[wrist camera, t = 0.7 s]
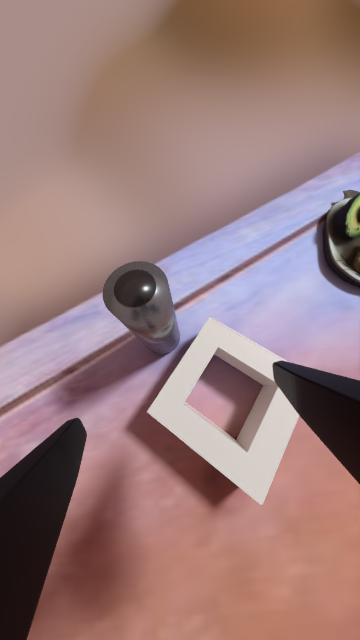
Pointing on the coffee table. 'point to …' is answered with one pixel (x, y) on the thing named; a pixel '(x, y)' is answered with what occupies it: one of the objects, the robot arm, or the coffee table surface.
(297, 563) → the coffee table surface
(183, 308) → the coffee table surface
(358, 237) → the salad plate
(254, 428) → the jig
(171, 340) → the bushing
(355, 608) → the coffee table surface
